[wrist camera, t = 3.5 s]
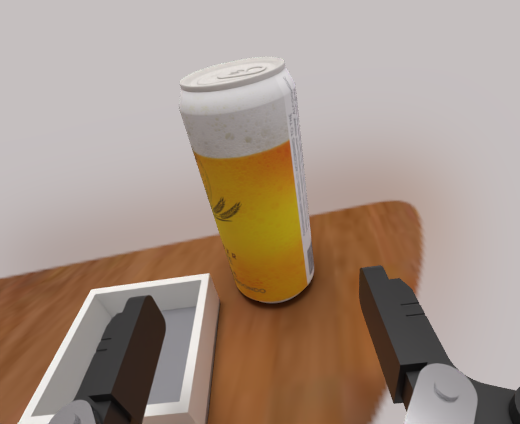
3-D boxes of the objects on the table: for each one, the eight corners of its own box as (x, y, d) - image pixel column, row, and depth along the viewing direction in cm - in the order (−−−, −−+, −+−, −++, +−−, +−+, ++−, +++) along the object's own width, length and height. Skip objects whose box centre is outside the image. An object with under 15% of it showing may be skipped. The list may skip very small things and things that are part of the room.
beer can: (242, 251, 27) (191, 66, 18) (313, 247, 26) (294, 48, 17) (229, 310, 22) (152, 96, 13) (316, 309, 21) (291, 74, 12)
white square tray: (49, 452, 17) (14, 429, 15) (110, 315, 24) (91, 289, 22) (205, 437, 16) (187, 412, 14) (220, 301, 23) (209, 273, 21)
